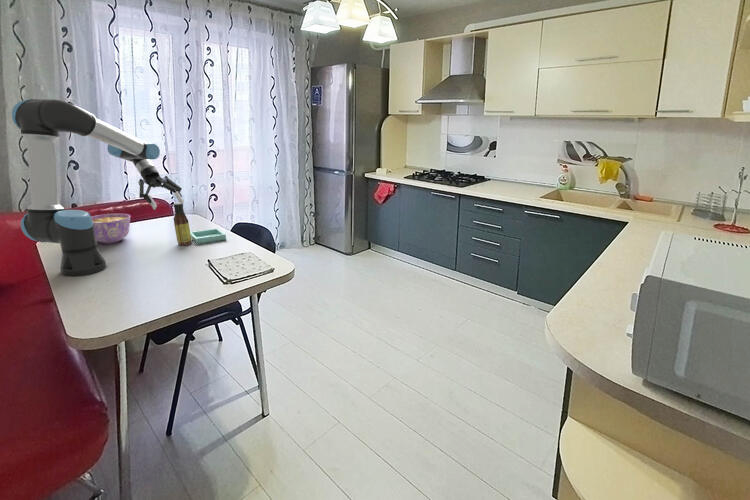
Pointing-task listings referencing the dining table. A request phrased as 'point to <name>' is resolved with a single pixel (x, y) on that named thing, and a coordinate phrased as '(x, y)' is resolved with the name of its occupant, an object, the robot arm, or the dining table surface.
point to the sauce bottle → (181, 225)
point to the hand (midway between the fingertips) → (169, 205)
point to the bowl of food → (111, 227)
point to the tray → (207, 236)
